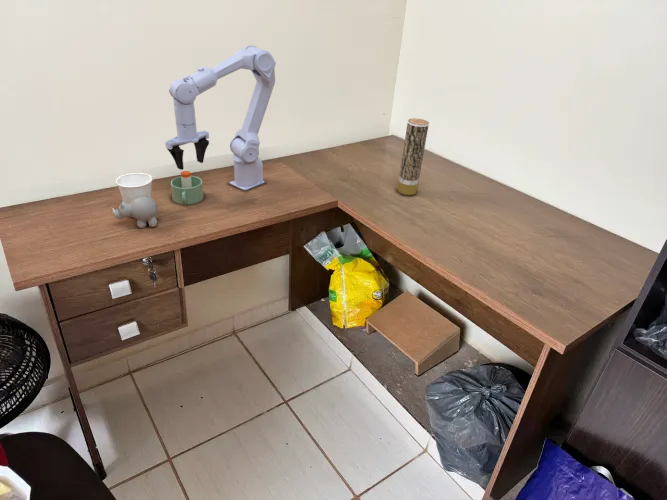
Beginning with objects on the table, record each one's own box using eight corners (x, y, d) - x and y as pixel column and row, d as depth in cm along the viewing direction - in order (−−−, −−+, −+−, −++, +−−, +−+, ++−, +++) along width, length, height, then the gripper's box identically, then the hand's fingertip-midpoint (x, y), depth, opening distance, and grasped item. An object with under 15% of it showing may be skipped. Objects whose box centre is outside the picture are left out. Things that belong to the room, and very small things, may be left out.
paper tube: (416, 188, 171) (428, 119, 157) (416, 197, 165) (429, 126, 152) (397, 186, 171) (407, 117, 158) (397, 195, 165) (408, 124, 152)
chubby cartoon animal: (117, 219, 140) (112, 192, 135) (161, 217, 142) (157, 191, 138) (113, 231, 134) (107, 204, 129) (158, 229, 136) (154, 202, 132)
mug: (175, 190, 157) (173, 175, 154) (205, 191, 158) (204, 175, 155) (168, 208, 147) (166, 192, 144) (200, 208, 148) (199, 192, 145)
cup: (115, 218, 140) (107, 183, 134) (135, 203, 148) (129, 170, 142) (145, 224, 138) (139, 189, 132) (164, 209, 146) (159, 175, 140)
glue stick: (189, 193, 155) (186, 170, 151) (195, 196, 154) (192, 172, 149) (181, 195, 153) (178, 172, 149) (187, 198, 152) (184, 175, 147)
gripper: (173, 131, 136) (179, 175, 143) (214, 120, 146) (217, 162, 153) (158, 125, 139) (164, 168, 146) (199, 115, 149) (202, 156, 156)
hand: (190, 165), depth 150 cm, fingers open, 7 cm apart
